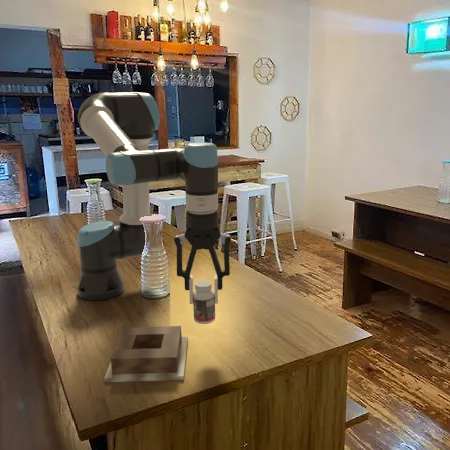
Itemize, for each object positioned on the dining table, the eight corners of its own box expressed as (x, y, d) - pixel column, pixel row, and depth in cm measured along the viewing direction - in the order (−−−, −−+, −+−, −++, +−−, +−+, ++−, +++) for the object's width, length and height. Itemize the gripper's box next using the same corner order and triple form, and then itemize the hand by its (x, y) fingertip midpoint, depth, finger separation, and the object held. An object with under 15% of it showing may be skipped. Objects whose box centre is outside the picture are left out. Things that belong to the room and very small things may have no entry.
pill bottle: (189, 320, 113) (187, 284, 110) (203, 312, 117) (202, 277, 114) (205, 327, 109) (204, 289, 107) (219, 318, 113) (218, 282, 111)
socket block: (104, 382, 103) (102, 362, 102) (120, 341, 120) (118, 324, 119) (183, 380, 103) (182, 360, 102) (187, 340, 121) (187, 323, 119)
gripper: (160, 215, 101) (165, 309, 108) (242, 214, 102) (242, 307, 108) (164, 207, 109) (168, 295, 115) (240, 206, 109) (240, 294, 116)
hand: (203, 301), depth 112 cm, fingers closed on pill bottle, 5 cm apart
